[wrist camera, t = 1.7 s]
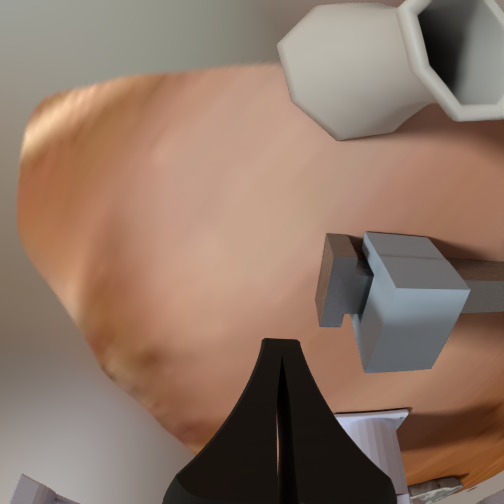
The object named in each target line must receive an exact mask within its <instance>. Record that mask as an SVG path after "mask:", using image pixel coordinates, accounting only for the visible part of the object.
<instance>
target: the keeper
mask: <svg viewBox="0 0 504 504" xmlns="http://www.w3.org/2000/svg"><path fill="white" fill-rule="evenodd" d="M362 250H363V252H364V254H365V256H366V258H367V260H368V263H369V265H370V267H371V269H372V271H373V273H374V278H373V282H372V285H371V289H370V292H369V296H368V299H367V303H366V306H365V310H364V313H363V314H350V317H351V321H352V325H353V328H354V332H355V336H356V341H357V345H358V349H359V353H360V357H361V361H362V365H363V370H364V373H378V372H397V371H412V370H424V369H431V368H432V366H433V365H434V363H435V361H436V359H437V358H438V356H439V354H440V352H441V350H442V349H443V347H444V345H445V343H446V341H447V339H448V337H449V335H450V333H451V331H452V329H453V327H454V325H455V323H456V321H457V319H458V317H459V315H460V313H461V311H462V308H463V306H464V304H465V302H466V300H467V297H468V295H469V293H470V288H469V287H468V286H467V284H466V283H465V282H464V280H463V279H462V278H461V276H460V275H459V274H458V273H457V271H456V270H455V269H454V268H453V266H452V265H451V264H450V263H449V261H448V260H446V259H445V258H444V256H443V255H442V254H441V253H440V252H439V250H438V249H437V248H436V247H435V246H434V245H433V243H432V242H431V241H430V240H429V239H428V238H427V237H417V236H406V235H395V234H383V233H371V232H365V235H364V240H363V244H362Z"/></svg>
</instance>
